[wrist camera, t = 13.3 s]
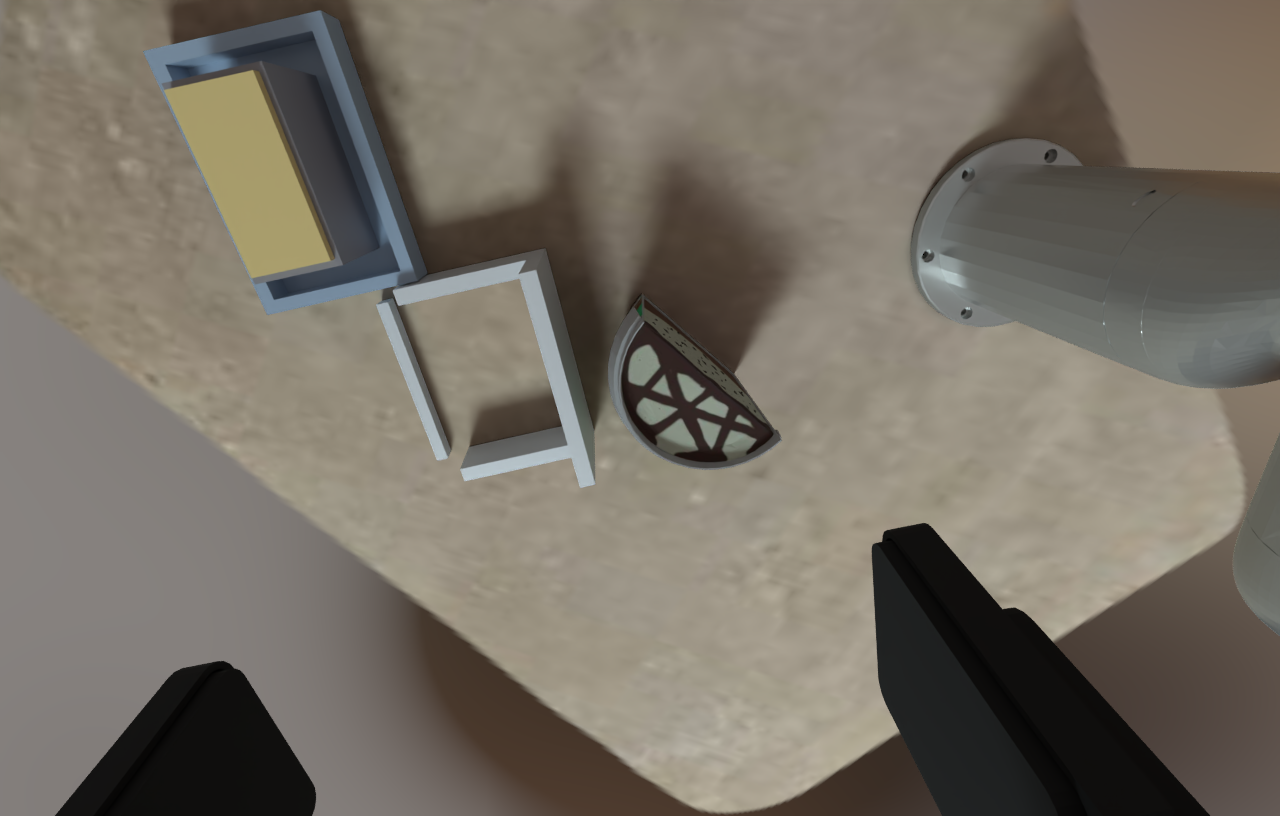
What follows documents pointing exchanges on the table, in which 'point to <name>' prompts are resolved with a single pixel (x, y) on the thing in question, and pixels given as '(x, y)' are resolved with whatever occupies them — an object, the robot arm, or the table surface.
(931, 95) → the table surface
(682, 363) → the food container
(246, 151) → the yellow-topped block
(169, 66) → the tray
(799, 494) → the table surface
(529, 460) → the bay
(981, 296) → the robot arm
